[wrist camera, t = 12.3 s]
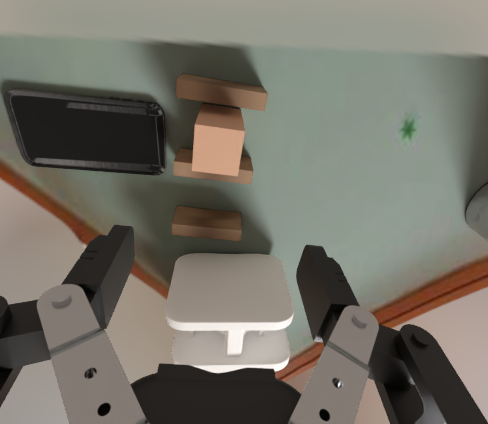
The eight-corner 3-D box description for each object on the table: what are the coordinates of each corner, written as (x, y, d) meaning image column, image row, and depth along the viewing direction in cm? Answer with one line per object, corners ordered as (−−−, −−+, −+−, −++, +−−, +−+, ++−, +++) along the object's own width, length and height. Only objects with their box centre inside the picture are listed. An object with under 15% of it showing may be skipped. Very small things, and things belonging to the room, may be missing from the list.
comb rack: (263, 86, 29) (268, 93, 25) (238, 222, 37) (240, 241, 34) (182, 73, 28) (176, 78, 24) (176, 216, 36) (171, 234, 33)
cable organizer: (285, 250, 40) (305, 320, 30) (276, 302, 46) (290, 375, 36) (177, 248, 39) (161, 320, 29) (181, 302, 45) (169, 377, 35)
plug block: (240, 109, 30) (244, 131, 23) (235, 146, 32) (237, 176, 25) (202, 103, 29) (194, 124, 22) (199, 141, 31) (191, 170, 25)
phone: (165, 176, 32) (24, 165, 31) (167, 172, 33) (30, 161, 32) (162, 103, 28) (-1, 87, 27) (164, 101, 29) (7, 85, 28)
